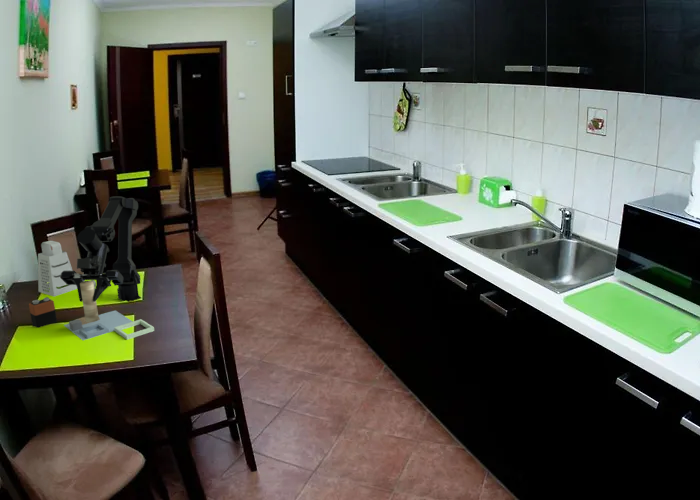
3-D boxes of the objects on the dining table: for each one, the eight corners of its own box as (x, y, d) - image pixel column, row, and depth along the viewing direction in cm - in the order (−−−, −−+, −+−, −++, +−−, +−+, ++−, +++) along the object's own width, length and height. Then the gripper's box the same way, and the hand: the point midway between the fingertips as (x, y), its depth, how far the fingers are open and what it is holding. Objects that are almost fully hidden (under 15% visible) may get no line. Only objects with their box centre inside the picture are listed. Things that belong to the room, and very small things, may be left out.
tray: (141, 325, 202) (141, 319, 201) (154, 333, 195) (153, 327, 195) (115, 334, 196) (114, 327, 195) (127, 342, 189) (126, 335, 188)
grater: (54, 296, 229) (45, 247, 223) (38, 291, 235) (30, 243, 229) (78, 288, 238) (70, 241, 232) (62, 283, 243) (55, 237, 237)
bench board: (115, 313, 212) (114, 303, 211) (136, 327, 201) (135, 317, 200) (64, 328, 200) (62, 318, 199) (83, 343, 189) (81, 333, 188)
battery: (32, 327, 201) (27, 300, 198) (52, 321, 206) (48, 295, 203) (37, 331, 198) (33, 303, 196) (58, 324, 203) (53, 298, 200)
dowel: (95, 316, 196) (90, 279, 192) (100, 319, 193) (95, 282, 189) (83, 319, 193) (77, 282, 189) (88, 323, 190) (82, 286, 186)
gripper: (58, 247, 190) (47, 291, 182) (115, 246, 190) (107, 290, 182) (72, 262, 199) (62, 305, 192) (127, 262, 199) (119, 304, 192)
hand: (87, 301), depth 189 cm, fingers closed on dowel, 4 cm apart
